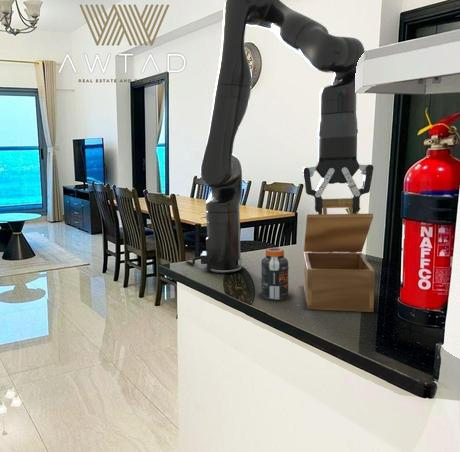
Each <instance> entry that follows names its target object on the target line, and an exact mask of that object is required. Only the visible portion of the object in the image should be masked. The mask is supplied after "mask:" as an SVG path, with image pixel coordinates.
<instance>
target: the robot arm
mask: <svg viewBox="0 0 460 452" xmlns="http://www.w3.org/2000/svg"><path fill="white" fill-rule="evenodd" d="M224 1H225V2H224V7H223V19H222V35H221V48H220V56H219V63H218V71H217V76H216V82H215V88H214V93H213V103H212V110H211V116H210V123H209V130H208V136H207V140H206V146H205V149H204V152H203V156H202V161H201V164H200V176H201V180H202V182H203V183H204V184H205V185H206V186H207V187H209V188H210V194H209V197H208V198H207V200H206V201H205V213H206V238H205V250H203V251H202V252H201V254H200V256H195V257H193V258H192V260H191V261H189V260H186V262H185V263H186V264H188V265H191V266H192V265H195V264H196V261H197V260H200V265H206V272H207V273H208V272H210V273H215V274H233V273H238V272H240V271H241V270H242V264H243V258H242V257H241V256H242V255H241V252H242V251H241V218H240V217H241V214H240V212H241V211H240V206H241V205H240V204H241V201H242V196H243V195H242V192H243V191H242V190H243V170H242V165H241V161H240V160H239V158H238V157H237V156H236V155H234V154H233V151H234V143H235V139H236V136H237V133H238V131H239V128H240V126H241V123H242V122H243V119H244V118H245V115H246V114H247V110H248V107H249V104H250V98H251V93H252V87H253V74H252V69H251V66H250V63H249V60H248V55H247V52H246V47H245V46H246V45H245V38H246V37H245V36H246V29H247V27H246V26H249V27H259V28H263V29H266V30H269V31H270V32H273V33H274V34H275V35H276V36H277V38H278V39H279V40H280V42H282V43H283V44H284V45H285V46H286V47H288V48H289V49H292V50H293V51H295V52H296V53H298V54H299V55H301V56H302V57H303V58H304V60H305V61H306V62H307V63H308V64H309V65H310V66H311V67H312V68H314V69H315V70H317V71H319V72H321V73H326V74H327V73H328V74H331V73H332V74H333V78H332V81H331V84H329V85H327V86H324V87H322V88H321V90H320V92H319V118H318V126H317V138H318V139H317V140H318V141H317V159H318V160H317V163H316V165H315V166H309V167H303V169H302V174H303V181H304V188H305V189H304V190H305V193H306V195H307V196H312V197H314V210H315V212H316V213H317V214H323V208H322V199H323V197H322V195H323V194H324V191H325V189H326V188H327V187H328V184H329V185H333V184H346V185H347V187H348V188H349V190H350V192H351V197H350V198H352V199H353V207H352V211H353V214H356V211H359V212H360V210H361V209H360V208H361V205H360V204H361V203H360V202H361V196H363V195H365V194H369V193H370V191H371V186H372V180H373V173H374V165H373V164H370V163H368V164H360V163H359V162H358V133H359V129H358V119H357V92H356V93H355V73H356V66H357V62H358V60H359V58H360V57H361V55H362V54H363V53H364V52H365V53H366V51H365V47H364V44H363V43H362V41H361V40H360V39H358V38H356V37H352V36H350V37H349V36H337V35H333V34H330V33H329V30H328V29H327V27H326V26H325V25H323V24H322V23H320V22H319V21H316V20H315V19H314V18H313V19H312V18H311V17H309V16H306V15H304V14H303V13H301V12H298V11H296V10H294V9H292V8H290V7H289V6H287V5H286V4H285V3H283V2H282V1H281V0H224ZM358 170H360V174H361V175H363V178H362V184H361V187H360V188H359V187H358V186H357V183H356V182H355V180H354V178H353V177H354V176H355V174H356V173H357V172H358ZM315 172H317V173H318V175H319V176H320V177H321V178H320V179H321V180H320V181H319V183H318V185H317V188H316V189H314V188H313V187H312V179H311V178H312V177H314V176H315V175H314V174H315ZM359 209H360V210H359Z"/></svg>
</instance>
